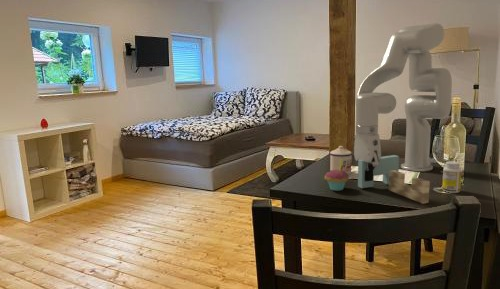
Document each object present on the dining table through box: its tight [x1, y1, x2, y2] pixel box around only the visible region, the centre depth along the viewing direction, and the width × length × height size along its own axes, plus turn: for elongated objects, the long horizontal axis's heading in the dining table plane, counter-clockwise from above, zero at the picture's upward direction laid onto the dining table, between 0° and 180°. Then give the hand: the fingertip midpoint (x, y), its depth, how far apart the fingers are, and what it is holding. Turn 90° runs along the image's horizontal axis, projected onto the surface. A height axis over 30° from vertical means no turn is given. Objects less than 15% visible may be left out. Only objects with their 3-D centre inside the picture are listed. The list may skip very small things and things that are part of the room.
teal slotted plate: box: [357, 154, 400, 189], centre depth 136 cm, size 16×2×10 cm, turn 109°
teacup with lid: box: [329, 145, 353, 176], centre depth 157 cm, size 12×9×12 cm
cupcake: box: [324, 157, 349, 191], centre depth 135 cm, size 9×8×12 cm
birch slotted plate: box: [388, 170, 431, 205], centre depth 125 cm, size 16×2×7 cm, turn 19°
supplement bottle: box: [441, 160, 462, 194], centre depth 128 cm, size 6×6×10 cm
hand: (366, 179), depth 135 cm, fingers closed on teal slotted plate, 2 cm apart
